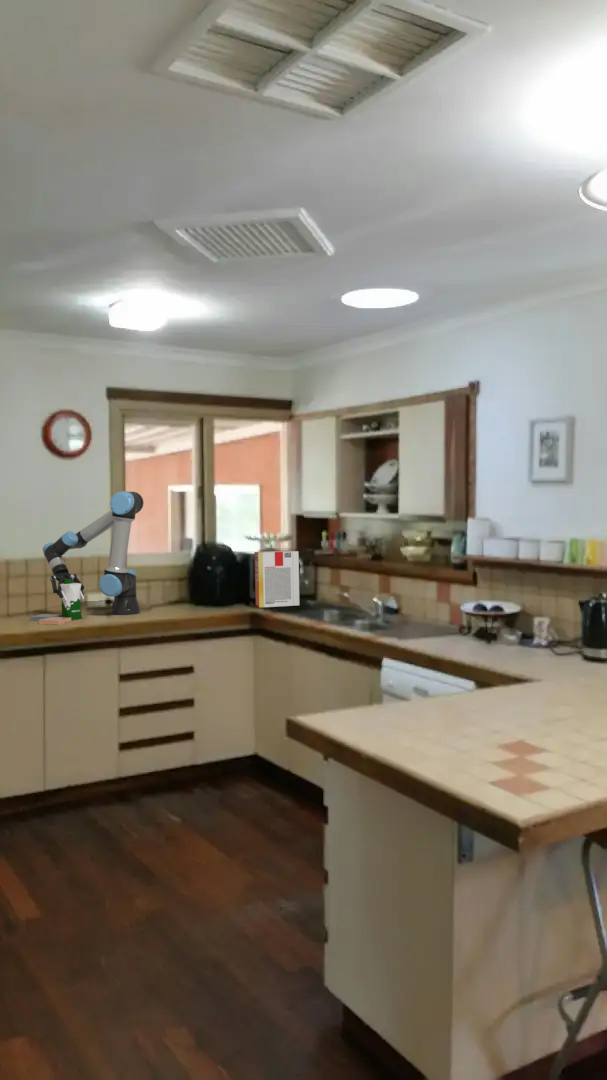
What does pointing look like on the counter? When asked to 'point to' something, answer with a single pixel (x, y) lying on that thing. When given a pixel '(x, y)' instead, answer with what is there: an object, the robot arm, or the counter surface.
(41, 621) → the terracotta tile
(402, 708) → the counter surface
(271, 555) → the pasta box
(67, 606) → the soya milk
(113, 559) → the robot arm
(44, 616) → the slate tile
